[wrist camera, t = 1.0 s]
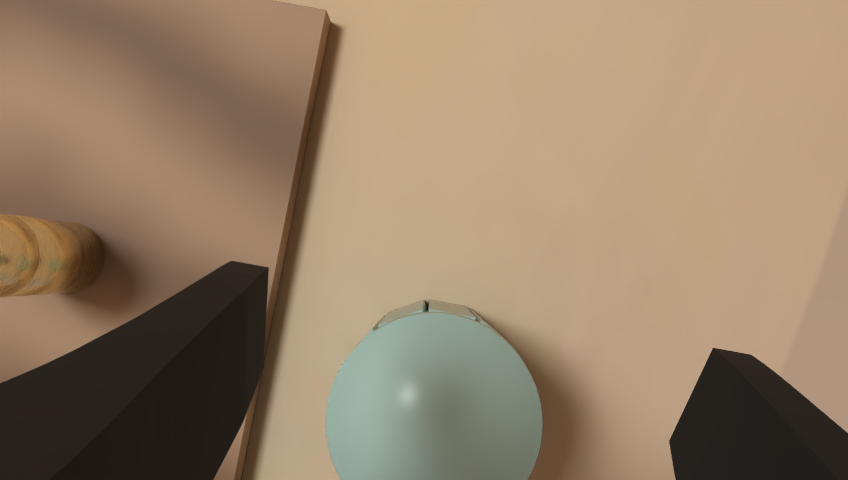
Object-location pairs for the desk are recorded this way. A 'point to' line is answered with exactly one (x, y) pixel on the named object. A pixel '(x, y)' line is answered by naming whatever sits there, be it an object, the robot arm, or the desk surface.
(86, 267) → the tan cylinder
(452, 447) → the cap
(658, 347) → the desk surface
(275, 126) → the walnut board
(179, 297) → the robot arm
